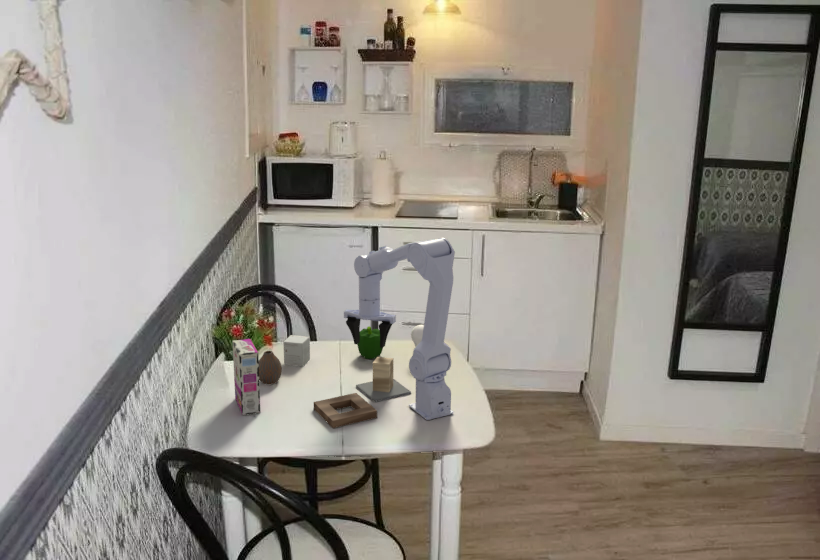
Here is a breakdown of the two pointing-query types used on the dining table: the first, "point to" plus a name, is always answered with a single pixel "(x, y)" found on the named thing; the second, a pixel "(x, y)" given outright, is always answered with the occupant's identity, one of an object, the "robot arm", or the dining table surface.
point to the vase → (269, 368)
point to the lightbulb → (417, 334)
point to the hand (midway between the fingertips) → (369, 344)
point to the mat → (378, 395)
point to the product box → (296, 350)
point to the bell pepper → (369, 343)
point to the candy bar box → (246, 376)
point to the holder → (336, 419)
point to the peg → (383, 374)
